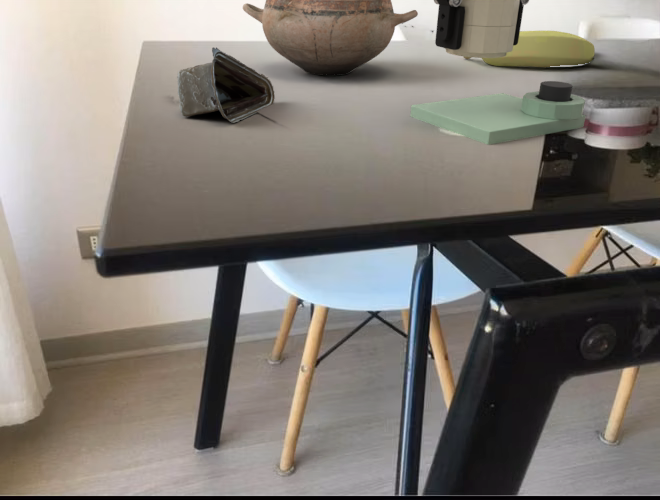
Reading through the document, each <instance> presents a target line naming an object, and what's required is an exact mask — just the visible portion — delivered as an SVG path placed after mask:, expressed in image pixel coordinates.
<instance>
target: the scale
mask: <svg viewBox="0 0 660 500" xmlns="http://www.w3.org/2000/svg"><path fill="white" fill-rule="evenodd" d="M538 96H539V91H531V92H530V91H529V92H526V93H525V94H524V95H523V96H522V97H519V96H515V95H512V94H508V93H504V92H500V93H493V94H486V95H485V94H484V95H478V96H471V97H462V98H456V99H448V100H441V101H440V100H439V101H432V102H425V103H417V104H411V105H410V115H409V117H411V118H413V119H415V120H418V121H421V122H424V123H426V124H429V125H432V126H435V127H437V128H440V129H444V130H446V131H449V132H451V133H454V134H456V135H460V136H462V137H465V138H469V139H471V140H473V141H476V142H479V143H482V144H484V145H487V146H490V145H494V144H495V145H496V144H500V143H507V142H512V141H516V140H517V141H518V140H521V139H527V138H533V137H539V136H544V135H549V134H554V133H560V132H566V131H571V130H576V129H581V128H584V126H585V121H586V117H587V115H586V114H584V110H585V103H586V99H585V98H583V97H581V96H579V95H575V94H571V97H570V101H568V102H554V101H546V100H542V99H538Z"/></svg>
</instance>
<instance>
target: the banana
mask: <svg viewBox="0 0 660 500" xmlns="http://www.w3.org/2000/svg"><path fill="white" fill-rule="evenodd" d="M595 52H596V51H595V46H594V44H593V43H592V42H590V41H589V40H587V39H585V38H584V37H581V36H579V35H576V34H573V33H569V32H564V31H560V30H559V31H558V30H522V31H521V30H520V33H519V40H518V44H517V45H513V49H512V51H511V52H507V55H506V56H504V57H499V58H481V60H482V61H483V62H484V63H486V64H487V65H491V66H495V67H527V68H529V67H530V68H531V67H533V68H546V67H550V66H560V65H578V64H585V63H588V64H590V63H592V62H593V61H594V59H595V54H596V53H595ZM462 57H463V59H465V60H470V59H472V58H473V57H464V56H462ZM589 62H590V63H589Z"/></svg>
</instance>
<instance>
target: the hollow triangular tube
mask: <svg viewBox="0 0 660 500" xmlns="http://www.w3.org/2000/svg"><path fill="white" fill-rule="evenodd" d="M211 52H212V57H213V59H212V60H211V61H212V62H207V63H204V64H198V65H195V66H193V67H192V66H191V67H187V68H182V69H180V70H178V72H177V95H178V98H179V110H180V113H181V115H182V116H183V117H185V118H186V117H192V116H196V115H204V114H209V113H213V112H214V113H215V112H218V111H219V112H220V114H221V115H222V117H223V118H224V119H226V120H227V121H229V122H231V123H236V122H240V120H241V121H242V120H245V119H246V118H249V117H250V116H253V115H255V114H258V112H259V111H261V110H263V109H264V108H268V107H269V106H272V105H274V102H275V99H276V97H275V90H274V85H273V84H272V81H271V80H270V79H269V76H265V75H264V74H263V73H258V72H257V70H255V69H253V68H252V67H249V66H248V65H246V64H245V63H243V62H242V61H240V60H239V59H236V58H235V57H233V56H232V55H230V54H228V53H226V52H224V51H222V50H221V49H220V48H218V47H212V48H211Z"/></svg>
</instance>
